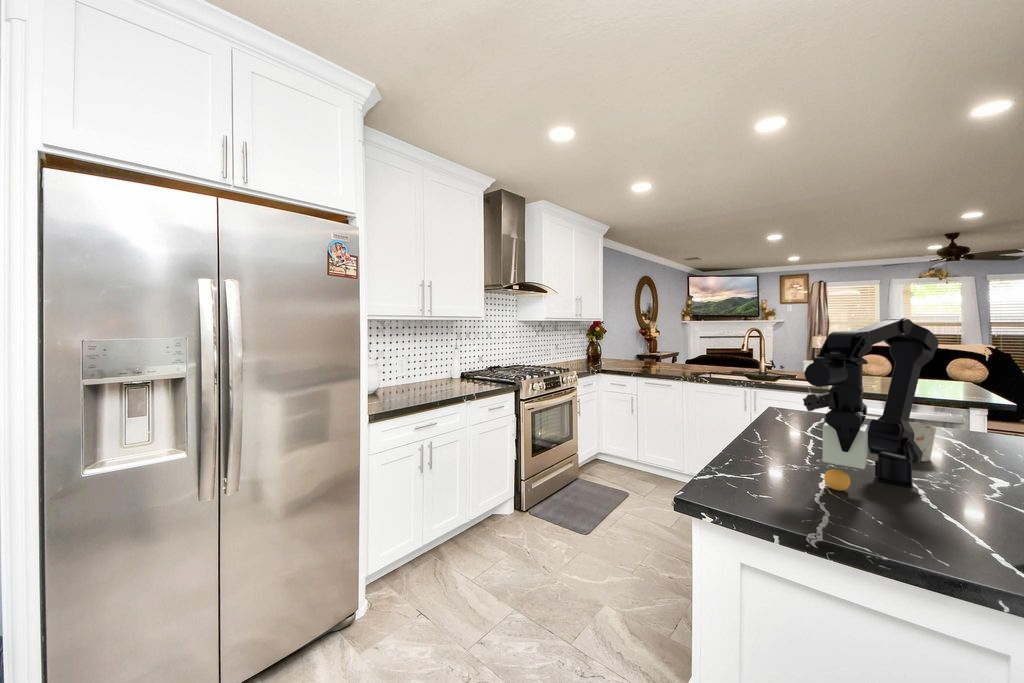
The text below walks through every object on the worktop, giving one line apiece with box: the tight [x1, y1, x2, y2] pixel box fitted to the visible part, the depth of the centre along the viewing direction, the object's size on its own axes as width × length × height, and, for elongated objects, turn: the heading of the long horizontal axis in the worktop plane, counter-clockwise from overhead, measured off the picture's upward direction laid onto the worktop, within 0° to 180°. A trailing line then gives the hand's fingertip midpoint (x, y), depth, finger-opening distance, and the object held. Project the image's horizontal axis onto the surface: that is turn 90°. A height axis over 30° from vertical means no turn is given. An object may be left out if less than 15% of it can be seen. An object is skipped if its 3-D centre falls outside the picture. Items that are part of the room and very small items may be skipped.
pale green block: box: [822, 422, 869, 470], centre depth 97 cm, size 8×8×9 cm
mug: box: [909, 421, 937, 462], centre depth 119 cm, size 8×13×10 cm, turn 78°
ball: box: [823, 468, 851, 491], centre depth 98 cm, size 5×5×5 cm
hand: (847, 447), depth 97 cm, fingers closed on pale green block, 8 cm apart
